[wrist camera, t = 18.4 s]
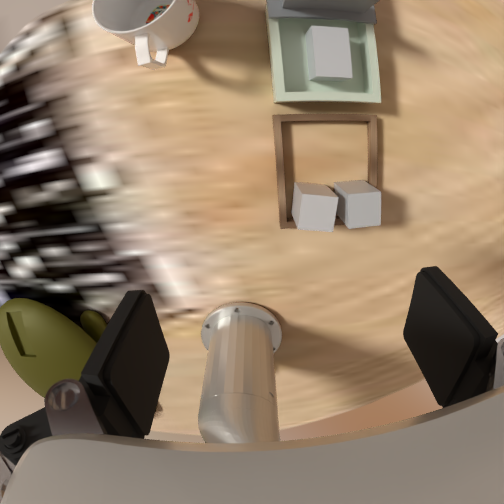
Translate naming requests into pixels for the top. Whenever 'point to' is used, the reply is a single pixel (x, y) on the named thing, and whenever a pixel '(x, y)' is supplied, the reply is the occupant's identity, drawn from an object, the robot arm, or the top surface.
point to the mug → (148, 25)
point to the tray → (306, 117)
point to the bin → (296, 65)
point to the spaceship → (46, 342)
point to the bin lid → (324, 10)
